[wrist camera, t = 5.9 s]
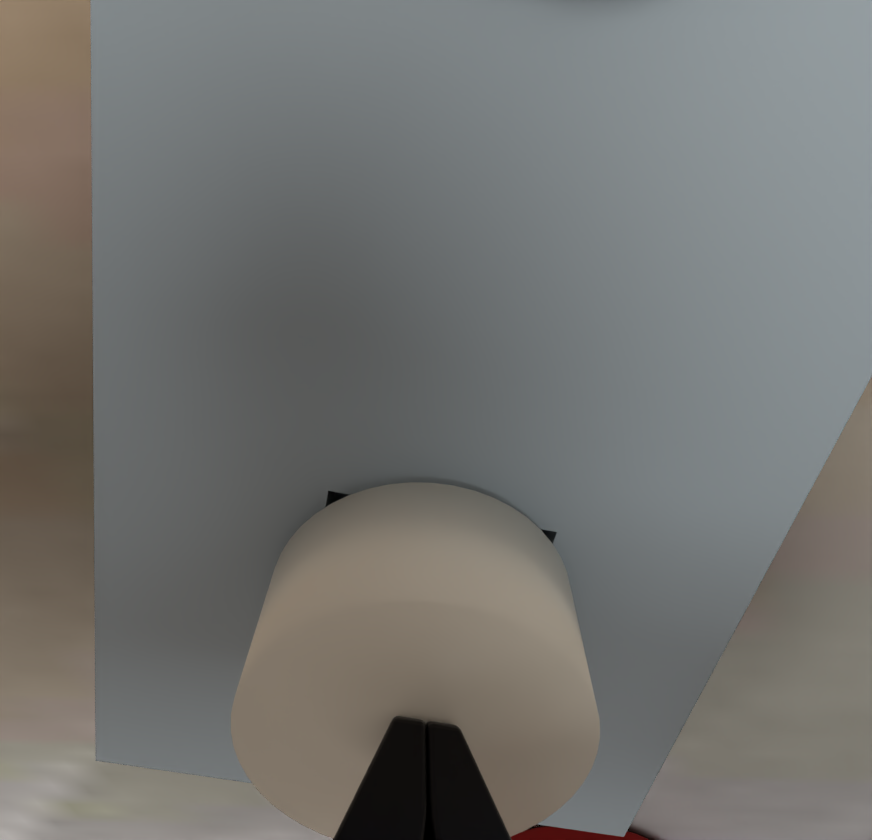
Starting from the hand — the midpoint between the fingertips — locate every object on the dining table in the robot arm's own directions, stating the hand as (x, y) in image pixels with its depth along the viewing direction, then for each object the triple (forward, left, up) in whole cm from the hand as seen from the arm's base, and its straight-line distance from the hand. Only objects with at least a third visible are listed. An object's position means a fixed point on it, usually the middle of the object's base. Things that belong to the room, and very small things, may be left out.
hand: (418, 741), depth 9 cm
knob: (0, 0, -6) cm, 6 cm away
